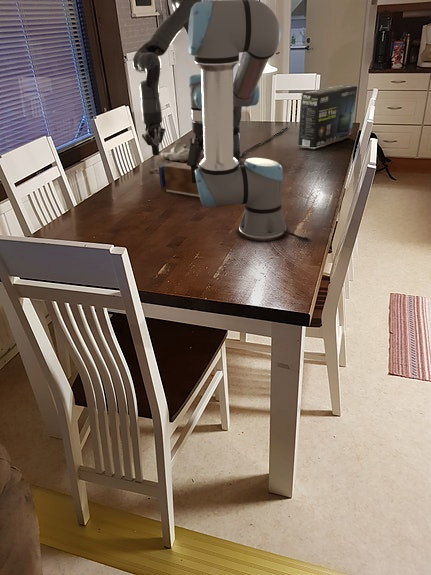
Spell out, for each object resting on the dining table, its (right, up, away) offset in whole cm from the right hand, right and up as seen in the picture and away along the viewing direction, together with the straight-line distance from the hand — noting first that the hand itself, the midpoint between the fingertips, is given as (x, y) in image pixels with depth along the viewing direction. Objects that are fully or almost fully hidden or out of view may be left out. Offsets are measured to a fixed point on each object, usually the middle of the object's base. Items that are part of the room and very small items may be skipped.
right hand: (204, 177), depth 179 cm
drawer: (-11, -2, +9) cm, 14 cm away
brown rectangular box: (-5, -4, +6) cm, 9 cm away
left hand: (-20, +11, +6) cm, 23 cm away
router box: (+63, +34, +66) cm, 97 cm away
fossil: (-14, +22, +50) cm, 57 cm away
